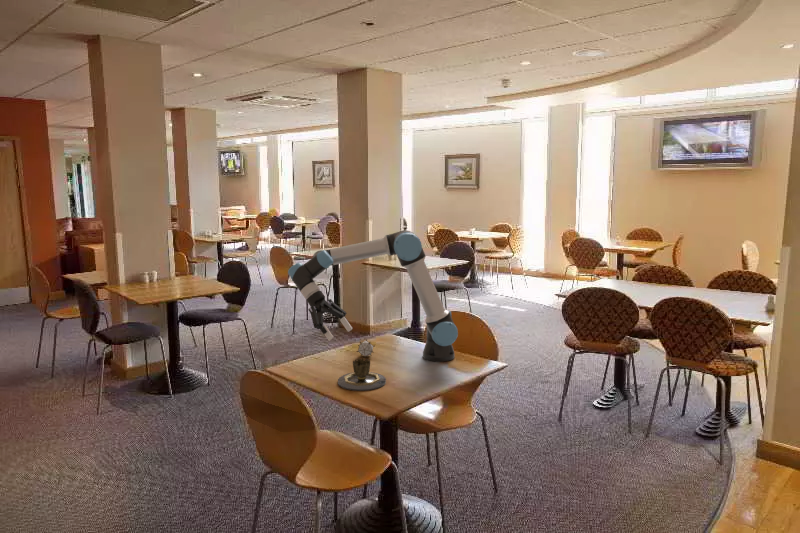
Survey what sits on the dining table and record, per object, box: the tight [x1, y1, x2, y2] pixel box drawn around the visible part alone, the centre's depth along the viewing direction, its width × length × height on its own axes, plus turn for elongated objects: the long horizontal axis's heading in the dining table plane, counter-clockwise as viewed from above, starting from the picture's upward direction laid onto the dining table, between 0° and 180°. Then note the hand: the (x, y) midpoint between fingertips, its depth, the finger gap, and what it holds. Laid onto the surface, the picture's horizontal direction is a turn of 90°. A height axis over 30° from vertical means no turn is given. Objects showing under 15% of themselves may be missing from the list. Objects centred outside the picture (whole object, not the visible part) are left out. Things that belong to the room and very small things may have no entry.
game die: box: [356, 338, 376, 359], centre depth 280 cm, size 9×8×10 cm
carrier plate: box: [337, 371, 387, 392], centre depth 245 cm, size 20×20×2 cm
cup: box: [352, 358, 371, 381], centre depth 244 cm, size 8×7×8 cm
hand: (341, 334), depth 250 cm, fingers open, 13 cm apart
